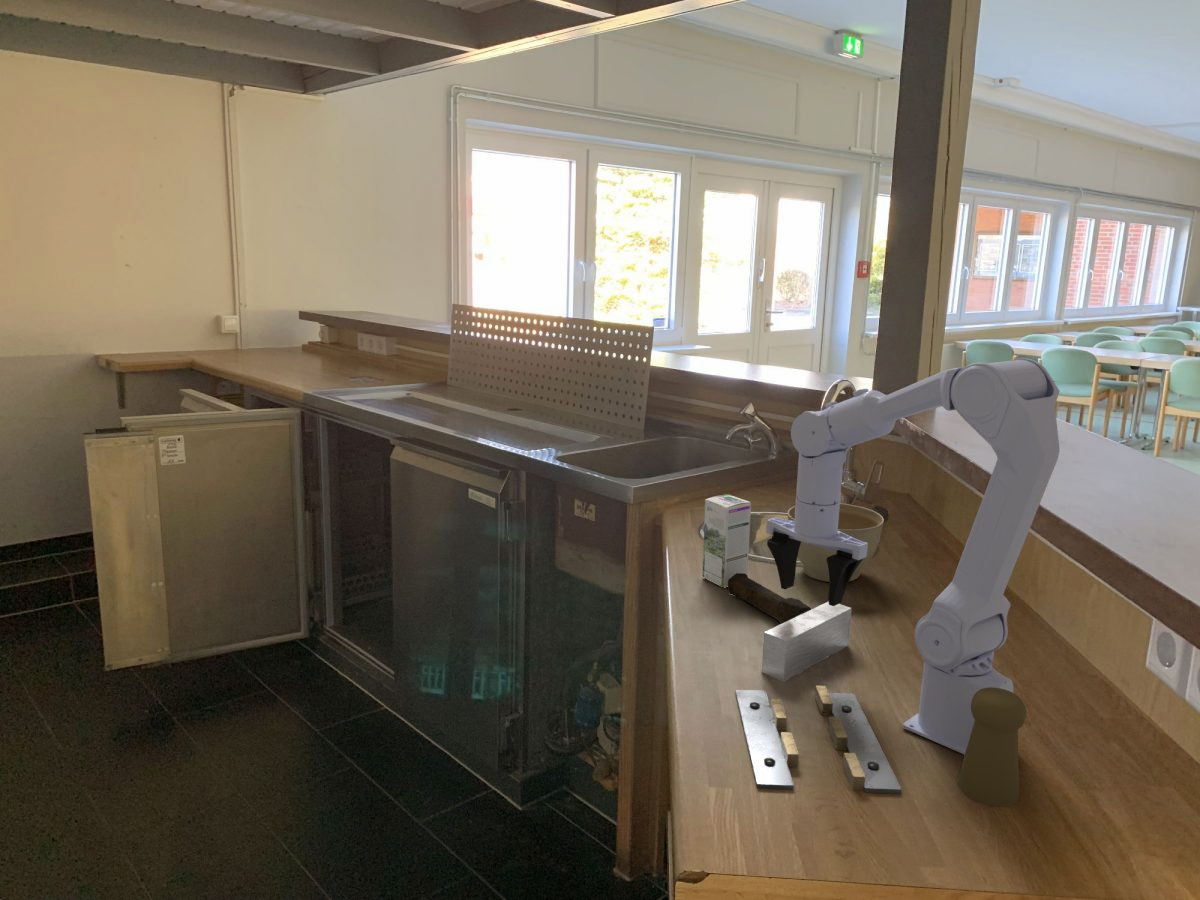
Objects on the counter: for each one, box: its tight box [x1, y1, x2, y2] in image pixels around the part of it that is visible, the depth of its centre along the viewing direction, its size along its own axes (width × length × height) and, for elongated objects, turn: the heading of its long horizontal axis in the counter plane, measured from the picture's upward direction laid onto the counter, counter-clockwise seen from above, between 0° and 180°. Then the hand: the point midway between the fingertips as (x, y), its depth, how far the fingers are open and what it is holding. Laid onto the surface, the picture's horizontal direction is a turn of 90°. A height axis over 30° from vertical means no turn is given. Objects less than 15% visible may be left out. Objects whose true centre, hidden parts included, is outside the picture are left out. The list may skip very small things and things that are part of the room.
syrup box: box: [701, 494, 752, 588], centre depth 146 cm, size 6×6×14 cm
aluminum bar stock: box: [761, 600, 852, 682], centre depth 119 cm, size 4×16×6 cm, turn 134°
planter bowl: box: [786, 502, 885, 583], centre depth 151 cm, size 16×16×11 cm
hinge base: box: [735, 685, 903, 795], centre depth 100 cm, size 15×20×2 cm
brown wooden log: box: [728, 573, 812, 624], centre depth 133 cm, size 19×4×5 cm, turn 24°
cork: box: [956, 687, 1027, 807], centre depth 90 cm, size 6×6×11 cm
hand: (810, 595), depth 118 cm, fingers open, 7 cm apart
